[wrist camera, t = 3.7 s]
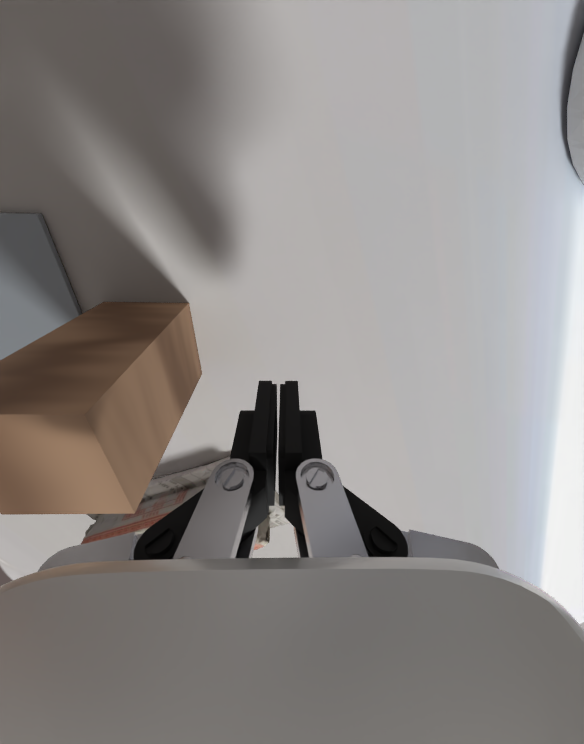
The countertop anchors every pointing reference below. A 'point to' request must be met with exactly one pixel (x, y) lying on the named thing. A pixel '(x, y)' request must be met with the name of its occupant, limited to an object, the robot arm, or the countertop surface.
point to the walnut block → (94, 408)
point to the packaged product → (172, 507)
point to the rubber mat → (30, 283)
